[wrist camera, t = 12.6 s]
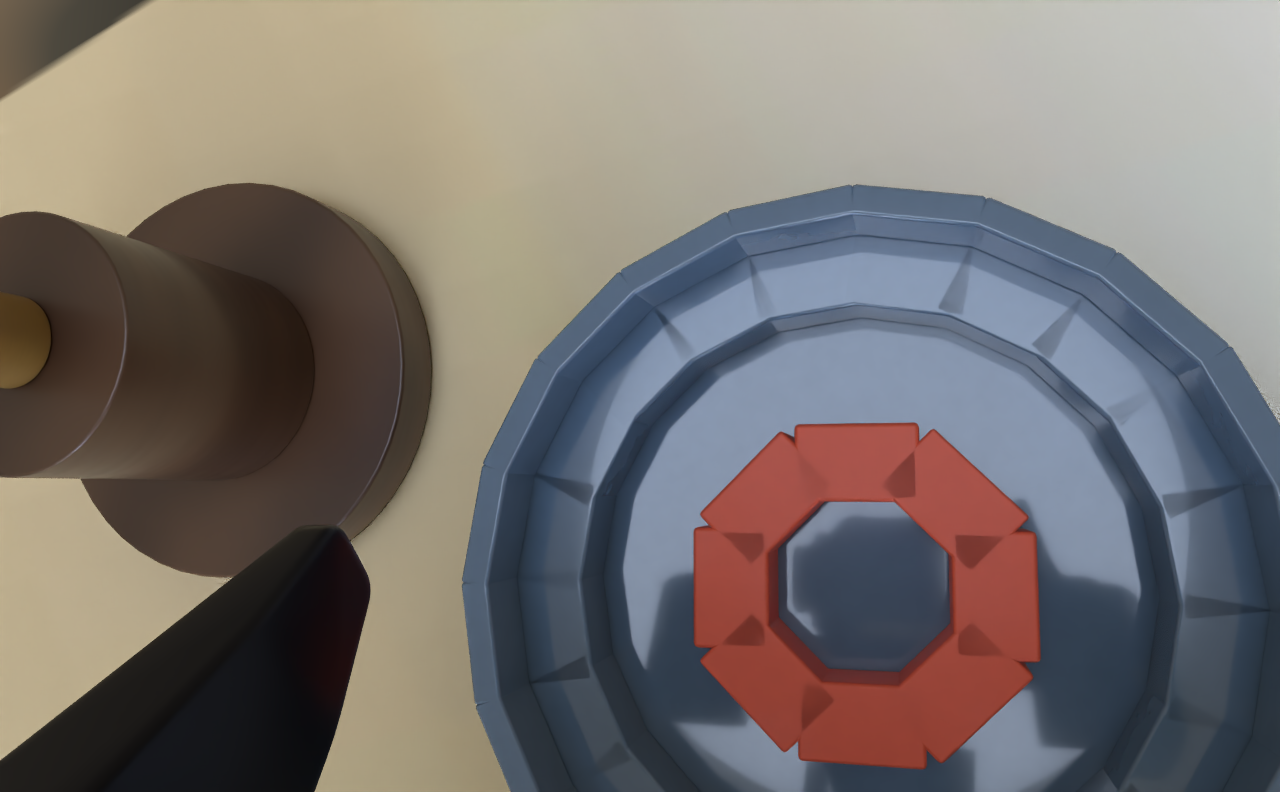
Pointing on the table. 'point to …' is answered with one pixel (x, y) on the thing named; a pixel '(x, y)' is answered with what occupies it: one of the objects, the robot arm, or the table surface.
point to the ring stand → (212, 370)
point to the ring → (859, 699)
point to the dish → (883, 504)
